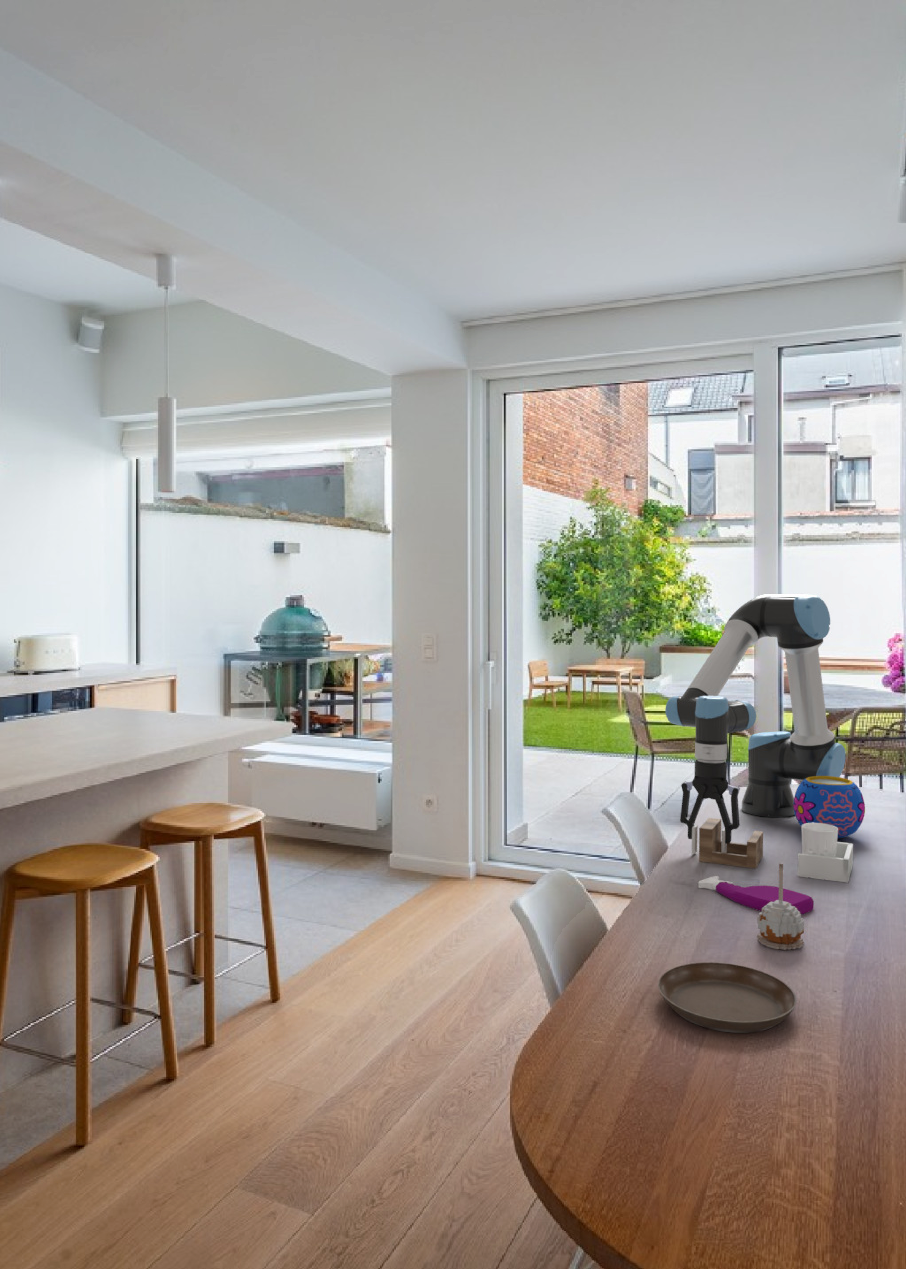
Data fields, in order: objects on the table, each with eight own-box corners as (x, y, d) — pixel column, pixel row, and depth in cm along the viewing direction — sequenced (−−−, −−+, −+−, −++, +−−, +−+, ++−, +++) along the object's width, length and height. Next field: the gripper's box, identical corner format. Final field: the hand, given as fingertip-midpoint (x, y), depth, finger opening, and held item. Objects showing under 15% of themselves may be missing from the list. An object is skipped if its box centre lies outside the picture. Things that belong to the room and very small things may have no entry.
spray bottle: (787, 922, 185) (687, 892, 204) (819, 910, 192) (719, 882, 211) (787, 907, 185) (687, 879, 204) (819, 896, 191) (719, 869, 211)
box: (805, 858, 226) (805, 838, 226) (852, 864, 221) (853, 843, 221) (797, 876, 213) (798, 854, 213) (848, 882, 208) (848, 860, 208)
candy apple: (767, 933, 178) (768, 855, 177) (808, 943, 173) (810, 862, 172) (751, 945, 172) (752, 864, 171) (793, 956, 167) (795, 872, 166)
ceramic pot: (851, 828, 254) (852, 773, 253) (874, 846, 237) (875, 787, 236) (785, 827, 256) (785, 772, 255) (802, 845, 238) (803, 786, 238)
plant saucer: (808, 1046, 135) (808, 1024, 135) (660, 1035, 138) (661, 1013, 138) (783, 986, 155) (783, 966, 155) (655, 977, 159) (655, 958, 159)
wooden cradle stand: (708, 849, 235) (708, 817, 234) (762, 856, 229) (763, 823, 228) (699, 861, 225) (699, 828, 224) (755, 868, 219) (755, 834, 218)
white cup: (831, 877, 212) (832, 833, 212) (795, 870, 217) (796, 827, 216) (841, 868, 218) (842, 826, 218) (807, 862, 223) (807, 821, 223)
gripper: (667, 759, 229) (665, 853, 230) (749, 766, 220) (747, 863, 221) (674, 754, 235) (672, 845, 236) (754, 761, 227) (752, 855, 228)
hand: (709, 854), depth 229 cm, fingers open, 6 cm apart
